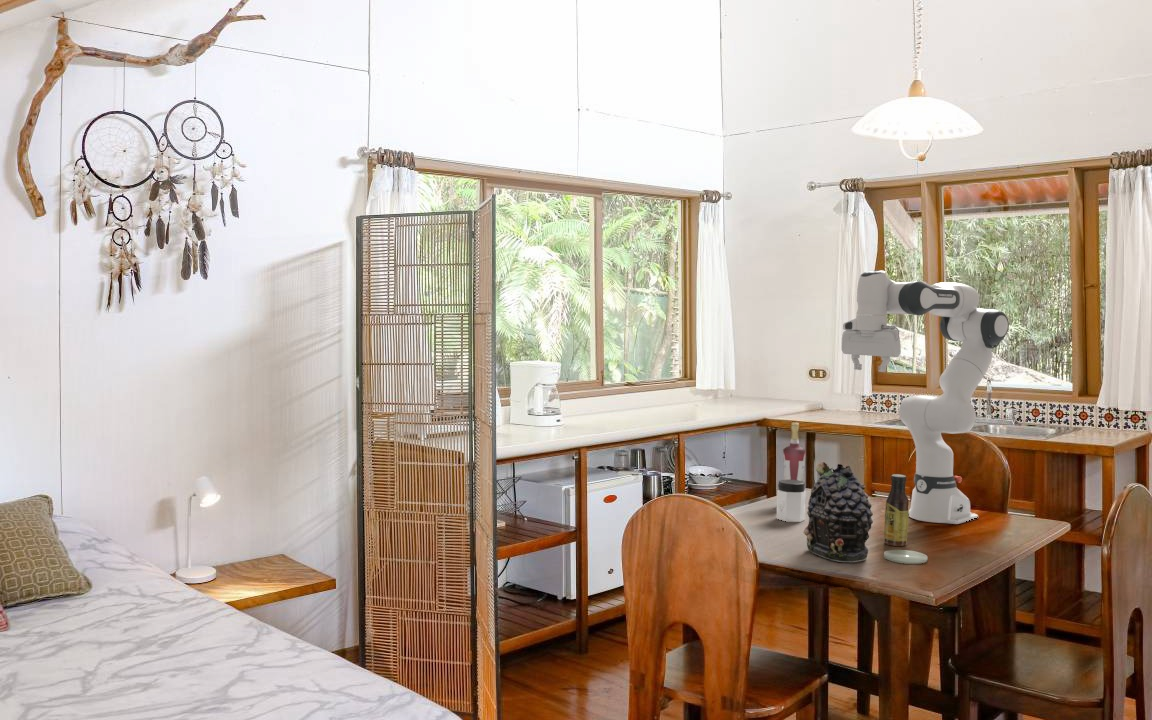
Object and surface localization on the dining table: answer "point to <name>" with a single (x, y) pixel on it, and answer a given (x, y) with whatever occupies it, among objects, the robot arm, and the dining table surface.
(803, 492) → the jar
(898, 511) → the sauce bottle
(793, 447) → the liquor
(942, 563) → the dining table surface
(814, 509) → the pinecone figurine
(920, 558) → the round plate
